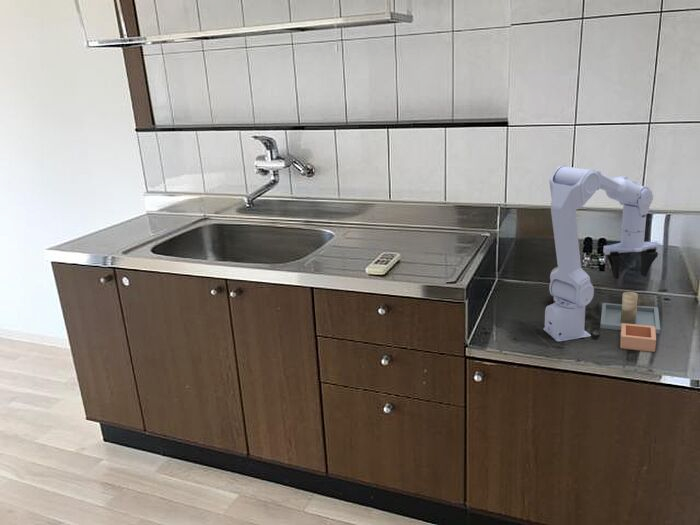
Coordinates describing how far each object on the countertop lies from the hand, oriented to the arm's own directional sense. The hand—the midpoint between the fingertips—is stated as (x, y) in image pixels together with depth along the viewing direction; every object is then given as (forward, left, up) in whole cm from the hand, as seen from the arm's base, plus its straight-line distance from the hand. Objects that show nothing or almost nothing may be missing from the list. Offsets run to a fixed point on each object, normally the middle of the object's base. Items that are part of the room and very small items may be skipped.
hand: (629, 276), depth 163 cm
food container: (-14, +11, -10) cm, 20 cm away
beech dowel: (-5, -8, -9) cm, 13 cm away
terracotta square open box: (-10, -19, -10) cm, 24 cm away
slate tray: (-4, -7, -10) cm, 13 cm away
